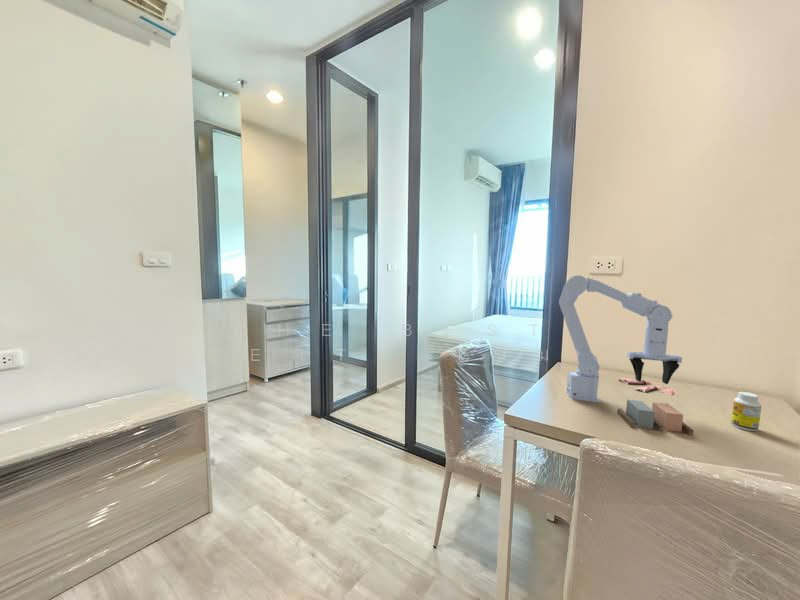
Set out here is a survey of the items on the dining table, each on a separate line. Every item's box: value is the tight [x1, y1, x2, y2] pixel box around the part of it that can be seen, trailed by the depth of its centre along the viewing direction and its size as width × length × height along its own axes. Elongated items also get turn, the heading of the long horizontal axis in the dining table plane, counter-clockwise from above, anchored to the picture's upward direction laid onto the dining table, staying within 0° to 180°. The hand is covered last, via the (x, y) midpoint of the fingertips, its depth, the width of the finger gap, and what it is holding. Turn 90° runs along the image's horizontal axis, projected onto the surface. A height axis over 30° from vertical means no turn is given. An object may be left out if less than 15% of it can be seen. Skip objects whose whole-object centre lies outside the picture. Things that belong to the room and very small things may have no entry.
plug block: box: [651, 401, 684, 432], centre depth 96 cm, size 4×8×5 cm, turn 165°
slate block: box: [625, 399, 655, 429], centre depth 97 cm, size 4×8×5 cm, turn 165°
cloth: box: [618, 377, 680, 396], centre depth 131 cm, size 20×22×2 cm
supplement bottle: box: [731, 391, 762, 432], centre depth 96 cm, size 6×6×10 cm
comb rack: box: [616, 408, 694, 436], centre depth 97 cm, size 15×10×2 cm, turn 75°
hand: (651, 381), depth 107 cm, fingers open, 7 cm apart
